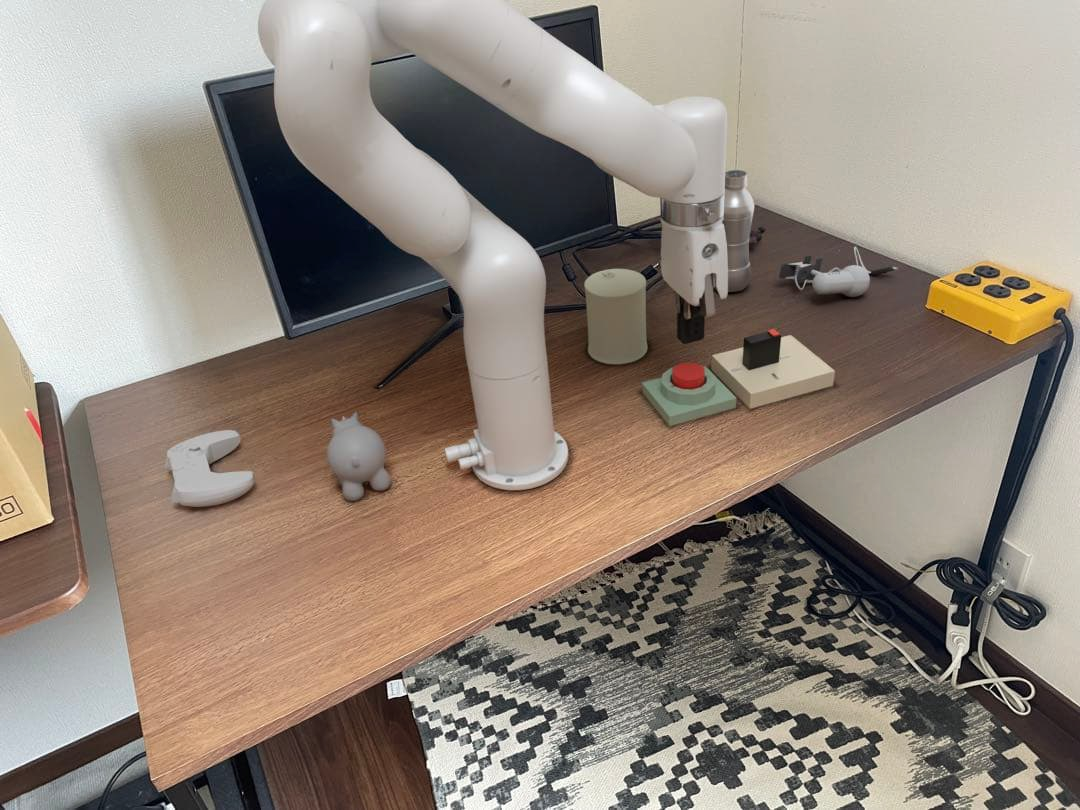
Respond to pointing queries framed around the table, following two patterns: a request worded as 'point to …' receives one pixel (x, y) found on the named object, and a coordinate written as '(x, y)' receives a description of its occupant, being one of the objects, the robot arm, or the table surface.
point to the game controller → (206, 470)
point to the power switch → (687, 398)
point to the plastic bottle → (737, 228)
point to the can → (616, 316)
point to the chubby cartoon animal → (357, 457)
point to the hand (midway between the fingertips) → (690, 338)
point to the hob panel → (774, 374)
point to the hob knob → (761, 349)
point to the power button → (688, 376)
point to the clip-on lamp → (831, 276)
